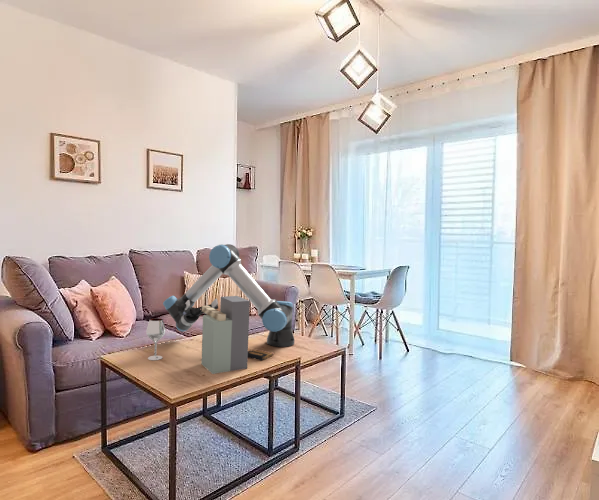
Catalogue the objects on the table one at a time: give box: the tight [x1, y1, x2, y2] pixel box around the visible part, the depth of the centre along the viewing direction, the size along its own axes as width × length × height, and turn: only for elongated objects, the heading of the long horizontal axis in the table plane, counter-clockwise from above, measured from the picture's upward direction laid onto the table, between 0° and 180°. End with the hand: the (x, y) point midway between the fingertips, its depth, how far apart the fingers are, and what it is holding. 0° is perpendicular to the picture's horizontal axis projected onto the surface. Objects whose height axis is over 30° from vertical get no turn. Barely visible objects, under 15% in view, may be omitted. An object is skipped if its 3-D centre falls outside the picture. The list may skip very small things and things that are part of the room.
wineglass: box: [146, 317, 166, 361], centre depth 185 cm, size 8×8×18 cm
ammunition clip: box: [248, 349, 275, 361], centre depth 196 cm, size 11×2×12 cm
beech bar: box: [201, 305, 226, 321], centre depth 180 cm, size 22×3×2 cm, turn 32°
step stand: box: [200, 295, 251, 375], centre depth 178 cm, size 14×16×30 cm
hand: (203, 301), depth 191 cm, fingers open, 13 cm apart
